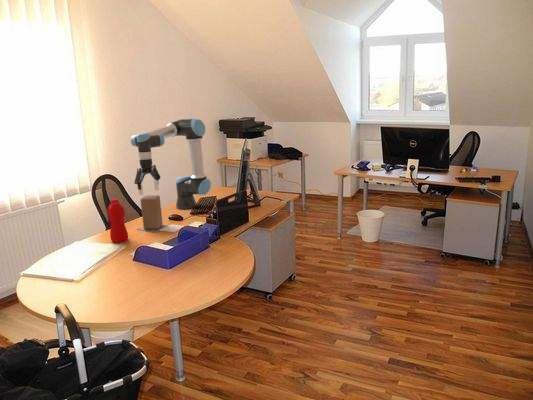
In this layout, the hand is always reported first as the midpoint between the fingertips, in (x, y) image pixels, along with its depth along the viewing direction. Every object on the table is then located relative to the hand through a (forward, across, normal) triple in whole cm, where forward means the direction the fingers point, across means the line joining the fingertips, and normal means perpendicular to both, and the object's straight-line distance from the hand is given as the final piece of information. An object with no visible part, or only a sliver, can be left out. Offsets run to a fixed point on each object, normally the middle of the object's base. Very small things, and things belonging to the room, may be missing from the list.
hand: (149, 192), depth 278 cm
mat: (+23, -3, +14) cm, 27 cm away
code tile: (+23, 0, 0) cm, 23 cm away
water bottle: (+24, +26, -1) cm, 35 cm away
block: (+23, 0, 0) cm, 23 cm away
